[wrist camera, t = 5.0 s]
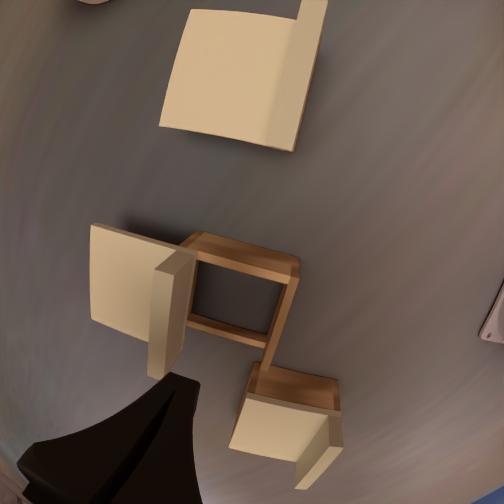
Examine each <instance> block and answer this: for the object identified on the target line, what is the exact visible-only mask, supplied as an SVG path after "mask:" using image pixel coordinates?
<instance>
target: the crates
mask: <svg viewBox="0 0 504 504" xmlns="http://www.w3.org/2000/svg"><path fill="white" fill-rule="evenodd" d="M321 36H322V35H321ZM320 41H321V39H320ZM319 47H320V44H319ZM318 52H319V48H318ZM318 52H317V56H318ZM317 56H316V60H317ZM315 65H316V61H315ZM315 65H314V69H315ZM314 69H313V73H314ZM313 73H312V77H313ZM311 82H312V78H311ZM311 82H310V86H311ZM310 86H309V90H310ZM309 90H308V94H309ZM308 94H307V98H308ZM307 98H306V102H307ZM305 106H306V103H305ZM304 111H305V107H304ZM304 111H303V115H304ZM303 115H302V119H303ZM302 119H301V123H302ZM301 123H300V127H301ZM300 127H299V131H300ZM169 128H170V127H169ZM175 129H177V128H175ZM181 130H183V129H181ZM186 131H189V130H186ZM299 131H298V135H299ZM192 132H195V131H192ZM198 133H201V132H198ZM204 134H207V133H204ZM209 135H212V134H209ZM298 135H297V139H298ZM215 136H218V135H215ZM220 137H223V136H220ZM225 138H228V137H225ZM230 139H233V138H230ZM297 139H296V143H297ZM235 140H238V139H235ZM240 141H242V140H240ZM244 142H247V141H244ZM249 143H252V142H249ZM296 143H295V147H296ZM253 144H256V143H253ZM258 145H260V144H258ZM262 146H265V145H262ZM267 147H269V146H267ZM295 147H294V151H295ZM271 148H273V147H271ZM275 149H277V148H275ZM279 150H281V149H279ZM283 151H285V150H283ZM294 151H293V152H291V153H294ZM287 152H289V151H287ZM178 246H180V247H183V248H187V249H190V250H194V251H198V253H197V259H196V265H195V271H194V277H193V283H192V289H191V296H190V302H189V309H188V316H187V323H186V326H189V327H192V328H195V329H198V330H201V331H205V332H208V333H211V334H214V335H218V336H221V337H225V338H228V339H231V340H235V341H238V342H242V343H246V344H249V345H253V346H257V347H260V348H264V352H263V357H262V362H261V363H259V362H254V366H253V369H252V372H251V375H250V378H249V381H248V384H247V387H246V390H245V393H244V396H243V399H242V402H241V405H240V408H239V411H238V414H237V417H236V421H235V425H234V429H233V432H234V430H235V427H236V424H237V421H238V418H239V416H240V413H241V410H242V407H243V404H244V401H245V398H246V395H247V393H248V392H249V393H253V394H257V395H261V396H265V397H269V398H274V399H278V400H283V401H287V402H292V403H297V404H302V405H307V406H312V407H318V408H323V409H329V410H335V411H341V409H340V399H339V390H338V381H337V380H334V379H329V378H324V377H319V376H314V375H310V374H305V373H301V372H296V371H292V370H287V369H283V368H279V367H275V366H271V365H270V364H271V361H272V358H273V356H274V353H275V350H276V347H277V344H278V341H279V339H280V336H281V333H282V330H283V327H284V324H285V321H286V318H287V315H288V312H289V309H290V306H291V303H292V300H293V297H294V294H295V291H296V288H297V285H298V282H299V279H300V258H299V257H295V256H292V255H288V254H284V253H281V252H277V251H273V250H270V249H266V248H262V247H258V246H255V245H251V244H247V243H243V242H240V241H236V240H232V239H229V238H225V237H221V236H217V235H214V234H210V233H206V232H202V231H198V230H197V231H196V232H195V233H194V234H192V235H191V236H190V237H188V238H187V239H186V240H185V241H183V242H182V243H181V244H180V245H178ZM200 260H201V261H204V262H208V263H211V264H215V265H219V266H222V267H226V268H229V269H233V270H236V271H240V272H244V273H247V274H251V275H255V276H258V277H262V278H266V279H269V280H273V281H277V282H280V283H284V284H283V287H282V291H281V294H280V297H279V300H278V304H277V307H276V310H275V313H274V316H273V320H272V323H271V326H270V329H269V332H268V335H265V334H261V333H257V332H253V331H250V330H246V329H243V328H239V327H236V326H232V325H229V324H225V323H222V322H218V321H215V320H212V319H208V318H205V317H202V316H199V315H195V314H192V313H191V310H192V303H193V297H194V291H195V285H196V279H197V273H198V267H199V261H200ZM232 435H233V433H232ZM231 438H232V436H231ZM230 441H231V440H230Z"/></svg>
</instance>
